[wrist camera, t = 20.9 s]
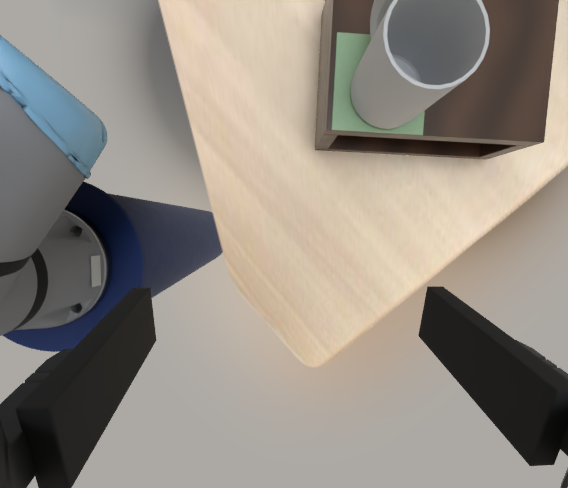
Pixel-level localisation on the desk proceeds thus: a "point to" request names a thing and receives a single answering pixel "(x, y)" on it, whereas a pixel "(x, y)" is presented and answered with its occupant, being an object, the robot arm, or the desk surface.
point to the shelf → (455, 104)
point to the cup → (417, 56)
